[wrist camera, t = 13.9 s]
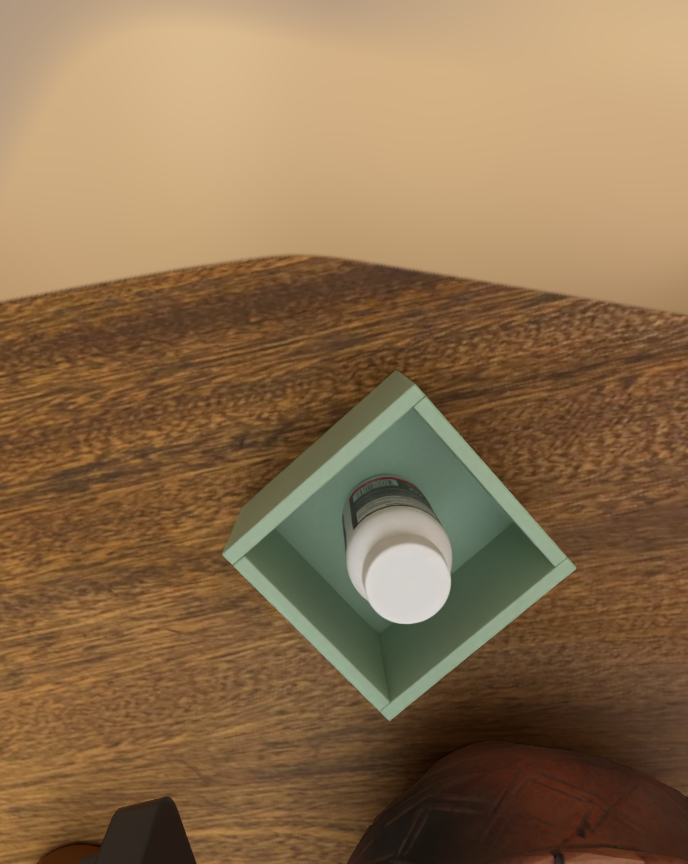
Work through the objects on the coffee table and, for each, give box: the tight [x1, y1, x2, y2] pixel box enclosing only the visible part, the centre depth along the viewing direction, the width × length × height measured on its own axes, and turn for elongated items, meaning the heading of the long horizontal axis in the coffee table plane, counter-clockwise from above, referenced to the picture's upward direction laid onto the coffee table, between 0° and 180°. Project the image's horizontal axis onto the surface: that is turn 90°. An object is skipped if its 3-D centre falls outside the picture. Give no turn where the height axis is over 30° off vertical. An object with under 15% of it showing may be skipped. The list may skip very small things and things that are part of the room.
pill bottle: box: [342, 475, 452, 624], centre depth 33 cm, size 5×5×10 cm
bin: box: [222, 370, 576, 721], centre depth 34 cm, size 13×13×8 cm
